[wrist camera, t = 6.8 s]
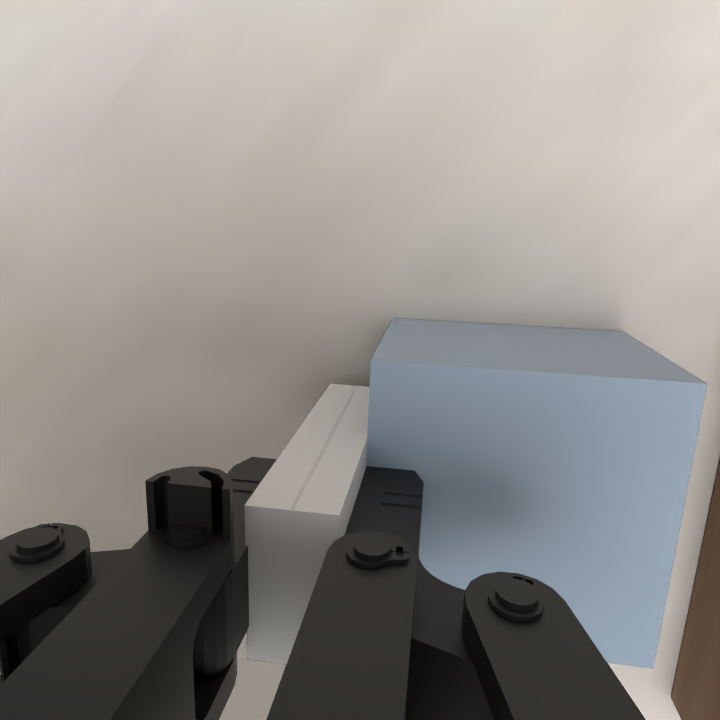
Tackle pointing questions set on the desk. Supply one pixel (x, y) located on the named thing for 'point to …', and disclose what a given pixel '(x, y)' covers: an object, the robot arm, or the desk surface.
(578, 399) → the block
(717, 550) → the board
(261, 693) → the desk surface
